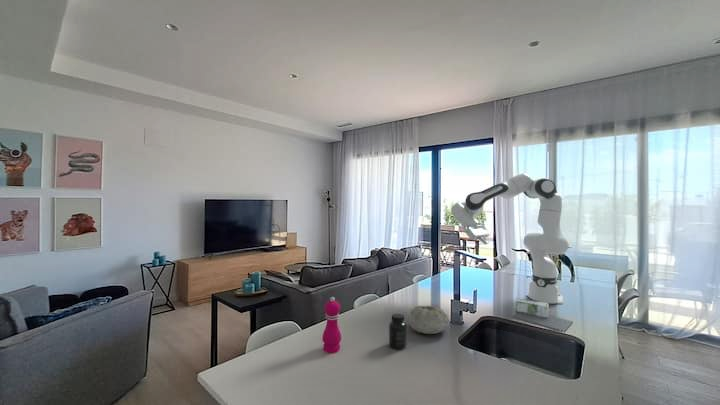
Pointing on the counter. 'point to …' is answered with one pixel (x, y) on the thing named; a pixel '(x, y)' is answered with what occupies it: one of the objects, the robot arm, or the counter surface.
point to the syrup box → (532, 307)
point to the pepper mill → (331, 327)
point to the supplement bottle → (397, 332)
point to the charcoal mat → (545, 321)
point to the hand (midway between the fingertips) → (487, 243)
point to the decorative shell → (428, 319)
